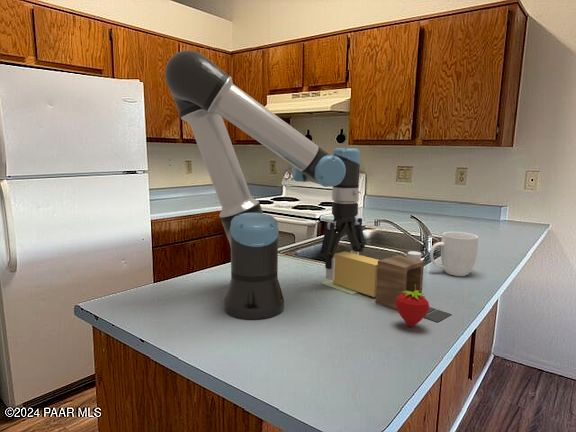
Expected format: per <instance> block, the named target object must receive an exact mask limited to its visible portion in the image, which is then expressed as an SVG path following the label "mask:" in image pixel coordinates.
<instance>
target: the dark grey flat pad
mask: <svg viewBox="0 0 576 432" xmlns="http://www.w3.org/2000/svg"><path fill="white" fill-rule="evenodd" d="M451 316H452V313H449V312H446V311H443V310H440V309H436V308H434V307H431V306H429V310H428V312H427V314H426V316H425V317H424V318H423V319H427V320H428V321H432V322H435V323H439V322H442V321H444V320H446V319H447V318H448V317H451Z"/></svg>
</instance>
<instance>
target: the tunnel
mask: <svg viewBox="0 0 576 432" xmlns="http://www.w3.org/2000/svg"><path fill="white" fill-rule="evenodd" d="M378 260H379V261H378V267H377V287H376V297H375V304H378V305H381V306H384V307H386V308H389V309H393V310H395V311H397V308H396V304H395V301H396V298H397V297H398V296H399V295H400V294H406V293H403V292H401V291H405V290H406V291H410V292H413V293H414V291H415V284H416V291H417V290H419V291H418V292H419V293H422V292H423V282H424V281H423V280H424V267H425V266H424V265H425V261H424V260H422V261H420V260H416V259H412V258H408V256H402V255H398V254H397V255H393V256H388V257H386V258H383V259H378ZM422 294H423V293H422Z"/></svg>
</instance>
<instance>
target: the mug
mask: <svg viewBox="0 0 576 432" xmlns="http://www.w3.org/2000/svg"><path fill="white" fill-rule="evenodd" d="M478 244H479V236H478V235H477V234H475V233H470V232H464V231H445V232H443V233H441V241H438V242H436V243H434V244H433V245H432V246H431V248H430V250H429V260H430V261H431V263H432V264H433V265H434V266H436V267H437V268H440V269H443V270H444V272H445V273H446V274H448V275H450V276H453V275H454V277H467V276H468V275H469V274H470V273H471V271H472V270H473V268H474V267H475V266H474V265H475V263H476V260H477V256H478V255H477V254H478V246H479V245H478ZM437 247H440V258H441V263H442V264H439V263H437V262H436V261H435V259H434V253H435V252H434V251H435V249H436V248H437ZM466 275H467V276H466Z"/></svg>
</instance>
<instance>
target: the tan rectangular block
mask: <svg viewBox="0 0 576 432" xmlns="http://www.w3.org/2000/svg"><path fill="white" fill-rule="evenodd" d="M333 258H335V279H334V280H333V283H334V284H337V285H340V286H343V287H346V288H349V289H351V290H354V291H357V292H358V293H361V294H364V295H366V296H370V297H373V298H376V287H377V267H378V261H379V260H380V259H377V258H372V257H368V256H366V255H361V254H360V255H357V254H353V253H351V251H350V252H349V251H346V250H344V251H342V252H335V254H334V256H333Z"/></svg>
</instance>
